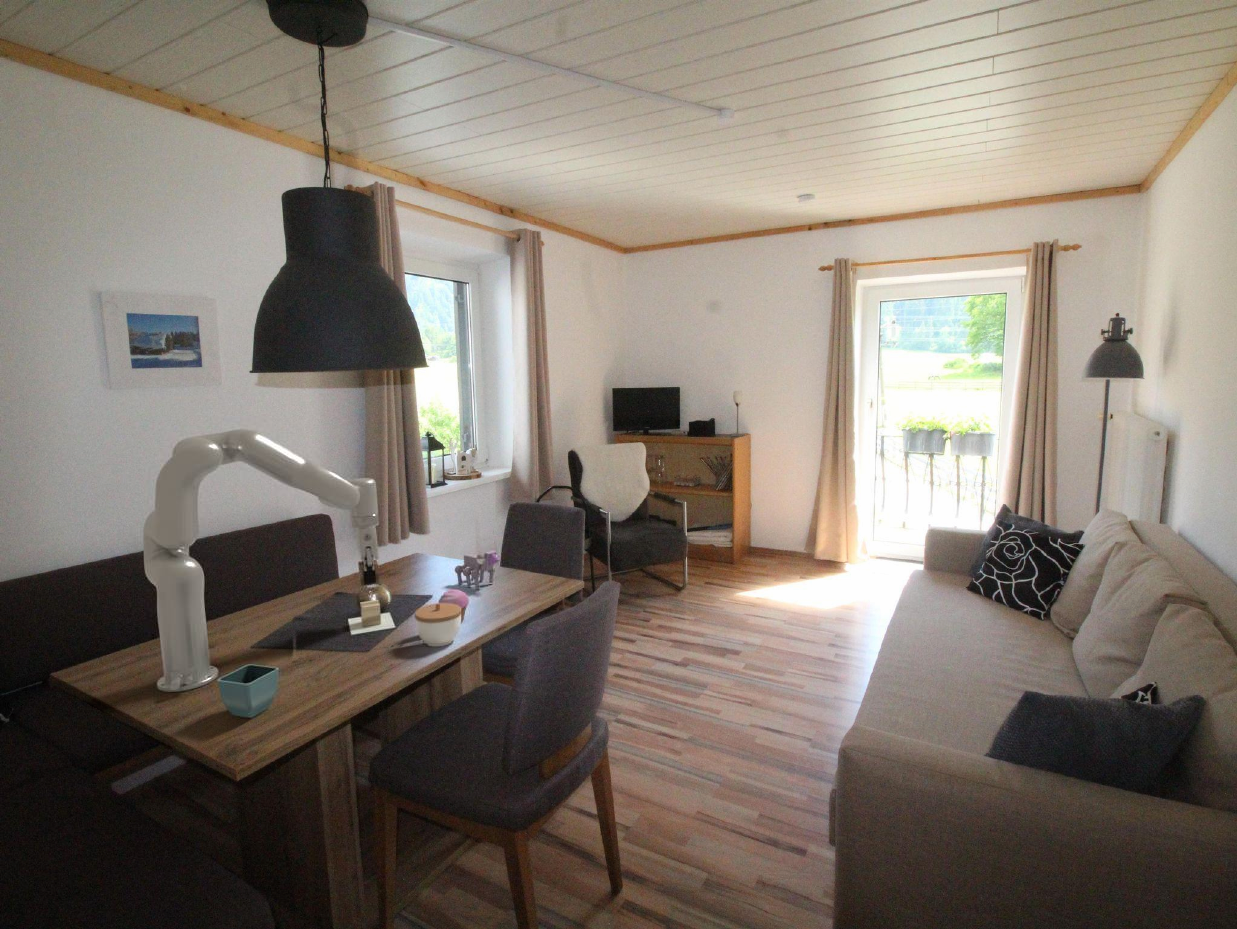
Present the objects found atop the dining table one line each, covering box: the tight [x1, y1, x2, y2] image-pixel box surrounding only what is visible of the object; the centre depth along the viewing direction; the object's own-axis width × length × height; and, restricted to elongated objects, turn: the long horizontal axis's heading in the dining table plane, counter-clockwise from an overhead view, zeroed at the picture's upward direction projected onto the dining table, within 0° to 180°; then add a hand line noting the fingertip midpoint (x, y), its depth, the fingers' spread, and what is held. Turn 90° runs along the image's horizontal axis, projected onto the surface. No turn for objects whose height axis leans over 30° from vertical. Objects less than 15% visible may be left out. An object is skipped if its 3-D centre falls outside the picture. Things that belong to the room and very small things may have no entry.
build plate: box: [347, 612, 396, 636], centre depth 195 cm, size 14×12×1 cm
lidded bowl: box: [414, 602, 462, 648], centre depth 183 cm, size 13×13×11 cm
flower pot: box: [216, 663, 280, 719], centre depth 145 cm, size 9×9×9 cm
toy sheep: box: [454, 549, 501, 590], centre depth 232 cm, size 20×11×14 cm, turn 52°
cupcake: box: [437, 589, 470, 622], centre depth 197 cm, size 9×9×10 cm
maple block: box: [359, 599, 381, 627], centre depth 195 cm, size 5×5×6 cm
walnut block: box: [357, 559, 380, 587], centre depth 193 cm, size 5×5×6 cm
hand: (369, 580), depth 194 cm, fingers closed on walnut block, 5 cm apart
